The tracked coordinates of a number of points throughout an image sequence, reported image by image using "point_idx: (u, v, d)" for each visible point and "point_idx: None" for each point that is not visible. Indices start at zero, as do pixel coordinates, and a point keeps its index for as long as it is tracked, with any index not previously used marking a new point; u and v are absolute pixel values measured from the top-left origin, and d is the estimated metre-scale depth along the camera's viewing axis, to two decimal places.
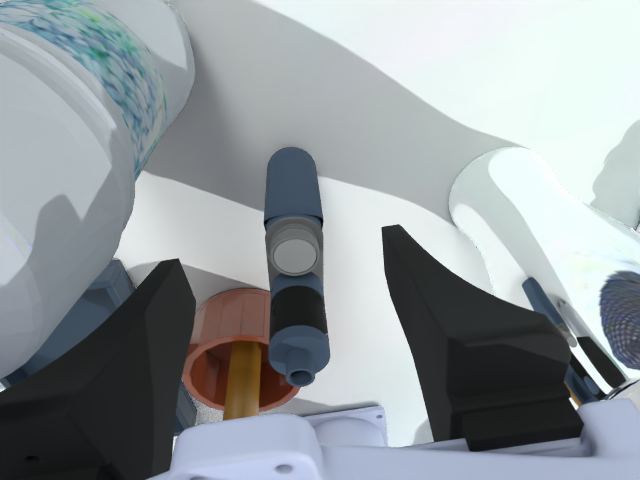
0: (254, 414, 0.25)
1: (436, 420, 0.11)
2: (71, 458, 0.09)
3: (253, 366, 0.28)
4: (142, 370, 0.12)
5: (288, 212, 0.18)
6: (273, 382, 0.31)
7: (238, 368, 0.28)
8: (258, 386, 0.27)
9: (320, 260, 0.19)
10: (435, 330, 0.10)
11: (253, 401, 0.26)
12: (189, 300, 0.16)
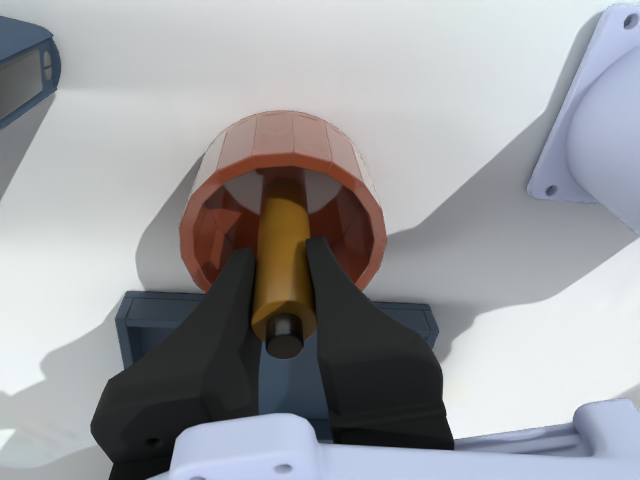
0: (273, 282, 0.14)
1: None
2: None
3: (267, 227, 0.16)
4: (237, 356, 0.12)
5: None
6: None
7: None
8: (283, 241, 0.15)
9: None
10: None
11: (270, 267, 0.14)
12: None
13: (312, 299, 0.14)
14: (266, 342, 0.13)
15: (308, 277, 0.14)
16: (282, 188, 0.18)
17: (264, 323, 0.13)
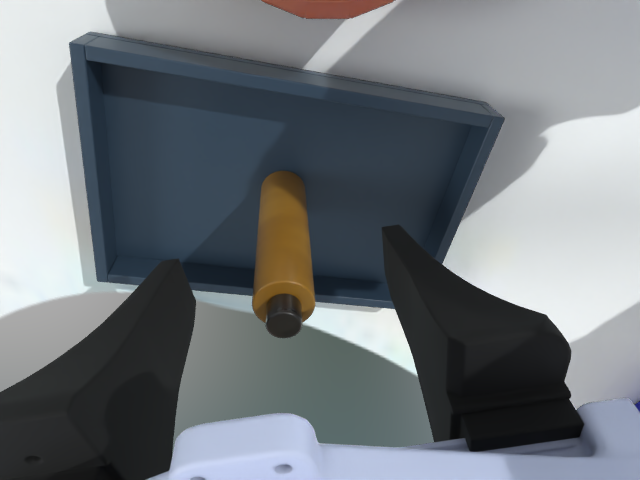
0: (273, 265, 0.14)
1: (436, 420, 0.11)
2: (71, 458, 0.09)
3: (267, 215, 0.17)
4: (142, 370, 0.12)
5: None
6: None
7: None
8: (282, 227, 0.16)
9: None
10: (435, 330, 0.10)
11: (270, 252, 0.15)
12: (189, 301, 0.16)
13: (310, 281, 0.14)
14: (266, 321, 0.13)
15: (306, 261, 0.15)
16: (281, 179, 0.19)
17: (264, 304, 0.14)
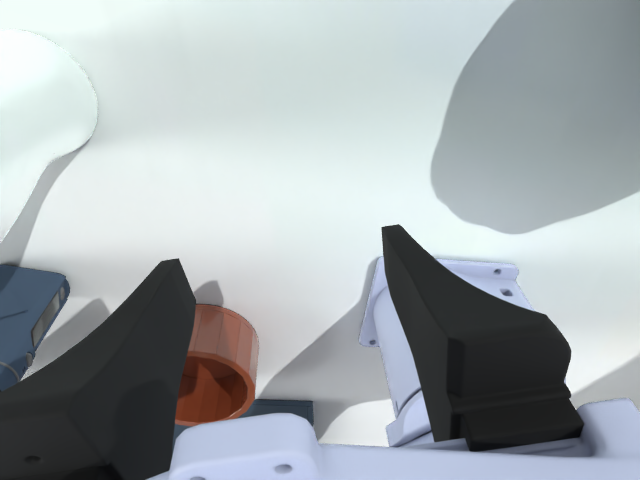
0: None
1: (436, 420, 0.11)
2: (71, 458, 0.09)
3: None
4: (142, 370, 0.12)
5: None
6: None
7: None
8: None
9: None
10: (435, 330, 0.10)
11: None
12: (189, 300, 0.16)
13: None
14: None
15: None
16: None
17: None
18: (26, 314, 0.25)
